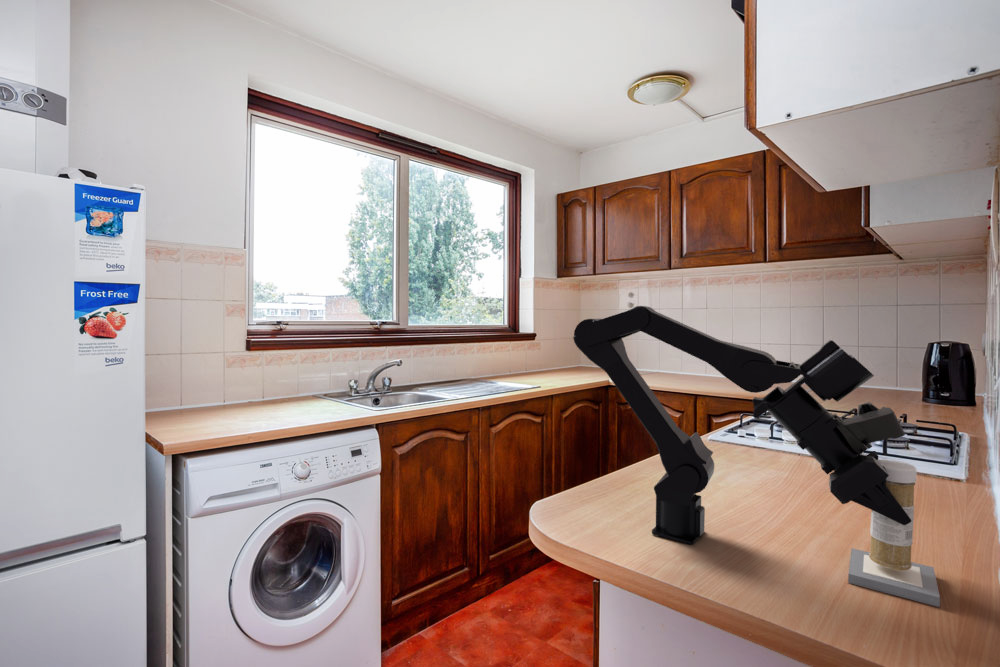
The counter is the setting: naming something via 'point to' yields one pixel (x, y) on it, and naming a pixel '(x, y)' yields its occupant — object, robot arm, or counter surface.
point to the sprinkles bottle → (886, 533)
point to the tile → (894, 579)
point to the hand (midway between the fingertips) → (904, 516)
